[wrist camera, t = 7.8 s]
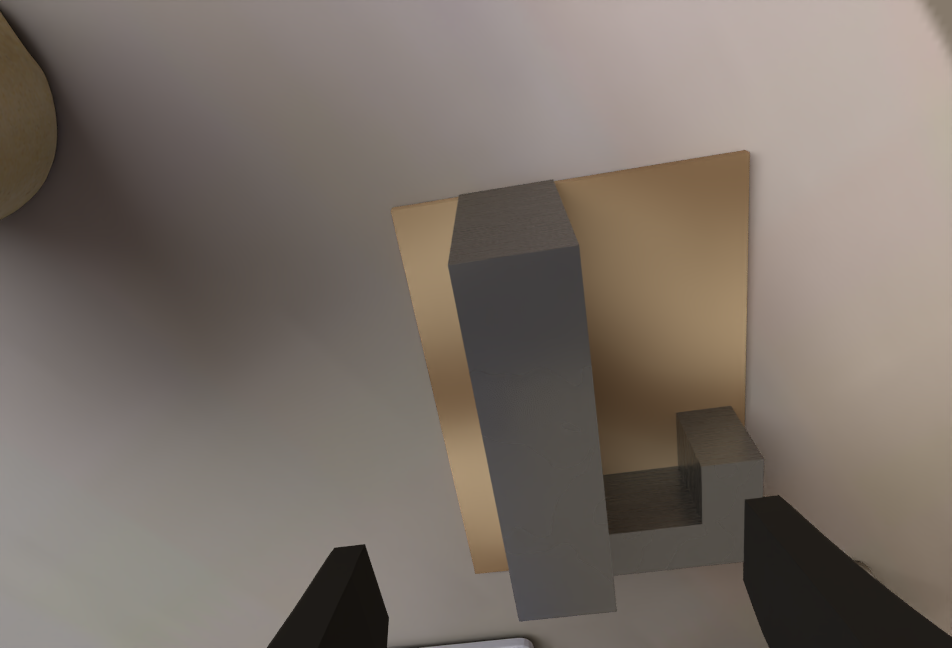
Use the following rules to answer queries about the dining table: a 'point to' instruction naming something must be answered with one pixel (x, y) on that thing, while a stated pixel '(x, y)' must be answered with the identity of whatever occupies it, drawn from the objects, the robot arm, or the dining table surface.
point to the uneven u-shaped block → (575, 423)
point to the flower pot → (23, 123)
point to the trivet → (608, 316)
